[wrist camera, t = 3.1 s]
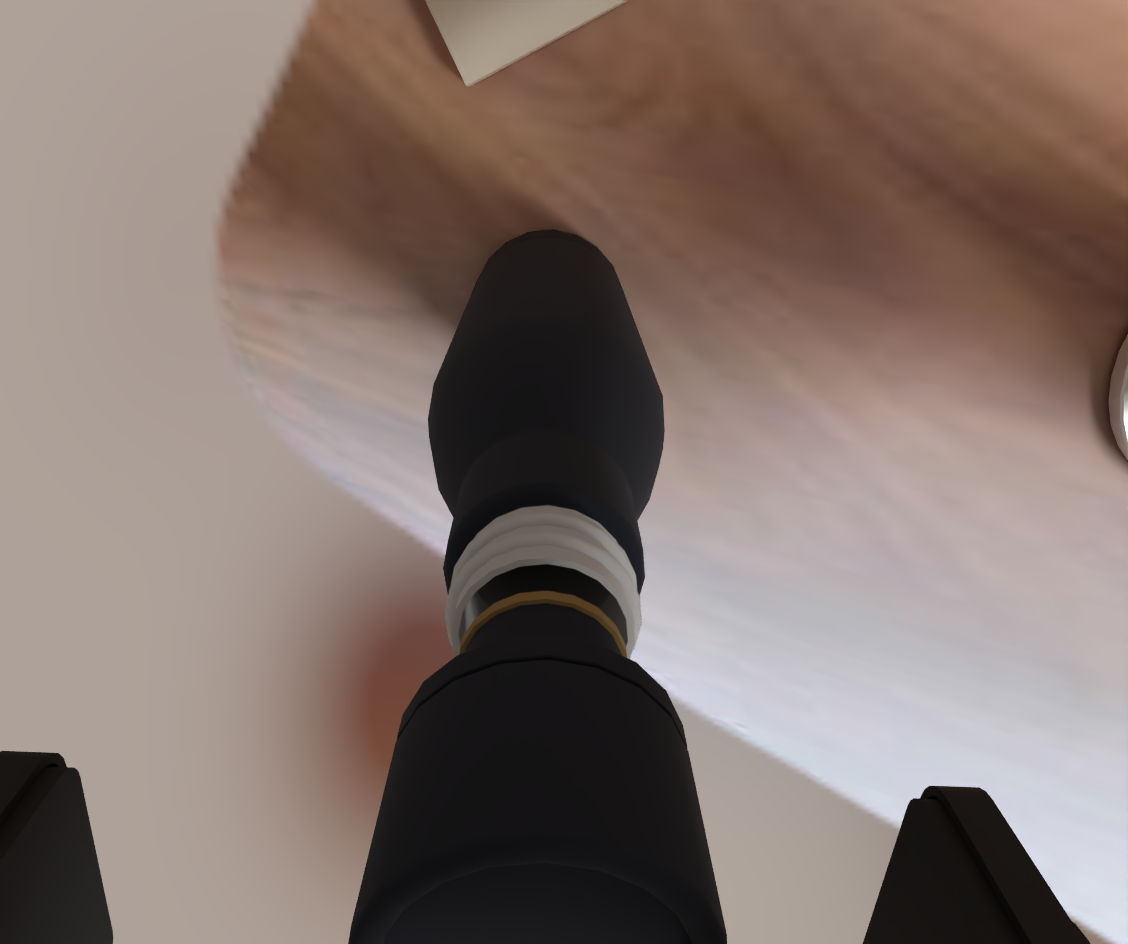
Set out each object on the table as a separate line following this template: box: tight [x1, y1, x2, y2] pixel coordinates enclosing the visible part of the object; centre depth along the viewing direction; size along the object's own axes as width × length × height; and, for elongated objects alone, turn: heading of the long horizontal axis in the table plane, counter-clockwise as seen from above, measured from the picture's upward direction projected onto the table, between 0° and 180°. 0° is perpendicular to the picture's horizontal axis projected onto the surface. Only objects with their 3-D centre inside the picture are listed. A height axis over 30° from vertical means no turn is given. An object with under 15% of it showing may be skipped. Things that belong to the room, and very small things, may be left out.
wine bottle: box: [348, 230, 727, 944], centre depth 22 cm, size 6×6×30 cm
